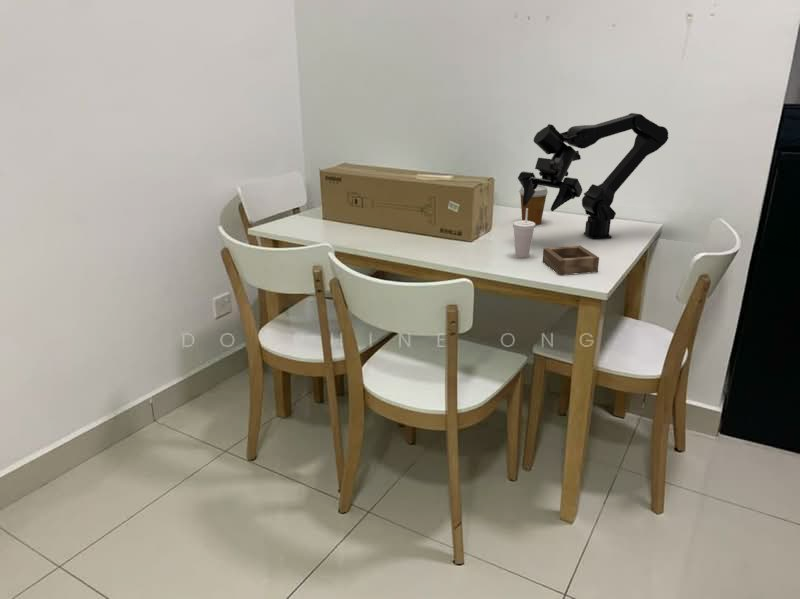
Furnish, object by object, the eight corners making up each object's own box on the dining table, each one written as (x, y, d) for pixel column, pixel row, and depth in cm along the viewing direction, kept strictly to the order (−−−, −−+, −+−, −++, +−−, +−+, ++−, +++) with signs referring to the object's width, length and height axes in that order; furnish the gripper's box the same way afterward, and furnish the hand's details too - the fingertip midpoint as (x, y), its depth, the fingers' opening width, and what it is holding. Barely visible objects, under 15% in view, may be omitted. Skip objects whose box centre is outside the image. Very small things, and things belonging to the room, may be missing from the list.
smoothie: (533, 259, 173) (536, 211, 167) (510, 258, 174) (513, 210, 168) (533, 252, 178) (536, 205, 173) (511, 251, 180) (513, 205, 174)
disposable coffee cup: (542, 218, 213) (545, 184, 208) (548, 226, 204) (550, 190, 200) (515, 219, 213) (517, 185, 209) (519, 226, 204) (521, 191, 200)
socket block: (579, 258, 173) (580, 245, 171) (597, 271, 163) (599, 257, 161) (542, 261, 171) (543, 248, 169) (558, 275, 161) (560, 260, 159)
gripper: (523, 143, 179) (499, 187, 176) (581, 149, 167) (558, 196, 164) (535, 166, 187) (513, 208, 184) (592, 174, 176) (569, 219, 172)
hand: (537, 207), depth 176 cm, fingers open, 9 cm apart
